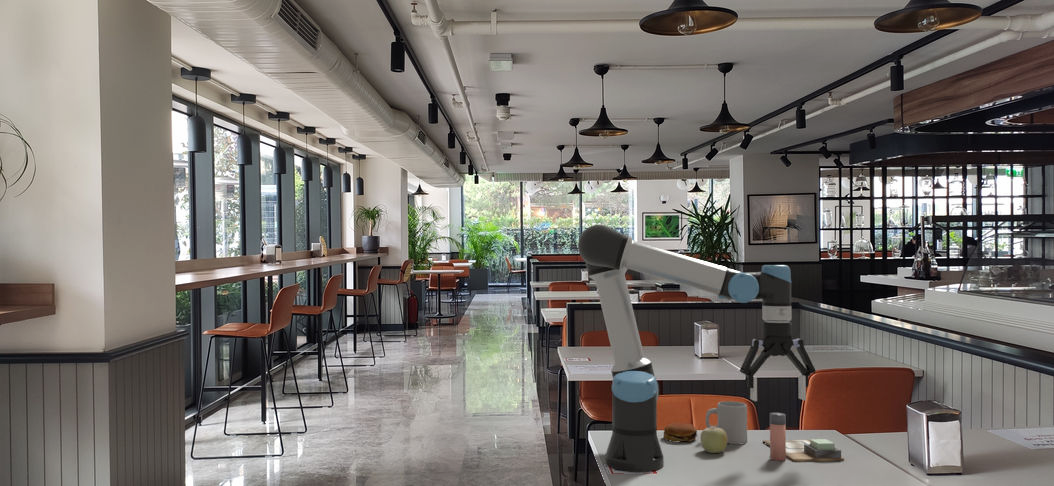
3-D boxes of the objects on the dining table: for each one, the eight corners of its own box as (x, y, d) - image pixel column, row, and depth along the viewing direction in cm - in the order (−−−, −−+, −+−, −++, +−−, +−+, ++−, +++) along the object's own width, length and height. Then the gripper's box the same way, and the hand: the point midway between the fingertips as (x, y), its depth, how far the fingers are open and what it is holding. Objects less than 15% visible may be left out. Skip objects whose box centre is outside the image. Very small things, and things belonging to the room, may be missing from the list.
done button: (818, 450, 191) (818, 443, 191) (810, 445, 195) (810, 439, 195) (834, 450, 191) (834, 443, 191) (826, 445, 196) (826, 439, 196)
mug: (744, 437, 214) (744, 401, 214) (749, 445, 205) (749, 407, 206) (704, 436, 216) (704, 400, 216) (707, 443, 207) (707, 406, 207)
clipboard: (793, 461, 188) (793, 451, 188) (762, 442, 208) (762, 433, 208) (844, 460, 189) (843, 450, 190) (808, 441, 209) (808, 432, 209)
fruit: (731, 455, 194) (730, 426, 194) (704, 455, 194) (704, 426, 194) (723, 448, 202) (723, 420, 202) (697, 448, 202) (697, 420, 202)
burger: (658, 439, 212) (658, 424, 212) (674, 434, 219) (674, 419, 219) (687, 445, 206) (687, 429, 206) (702, 439, 212) (702, 424, 213)
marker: (773, 461, 189) (773, 416, 189) (767, 456, 193) (767, 412, 193) (788, 460, 189) (788, 415, 190) (782, 456, 193) (781, 412, 194)
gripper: (737, 323, 187) (738, 403, 187) (827, 322, 189) (829, 401, 189) (727, 320, 195) (728, 397, 194) (814, 319, 197) (815, 396, 196)
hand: (778, 399), depth 192 cm, fingers open, 13 cm apart
